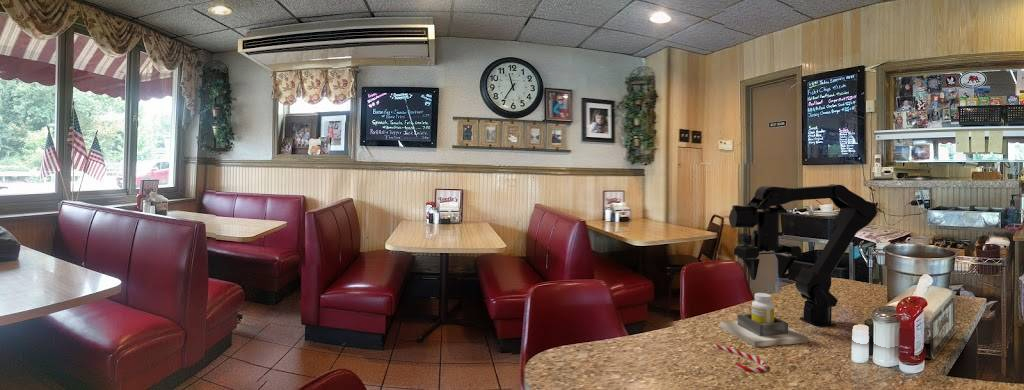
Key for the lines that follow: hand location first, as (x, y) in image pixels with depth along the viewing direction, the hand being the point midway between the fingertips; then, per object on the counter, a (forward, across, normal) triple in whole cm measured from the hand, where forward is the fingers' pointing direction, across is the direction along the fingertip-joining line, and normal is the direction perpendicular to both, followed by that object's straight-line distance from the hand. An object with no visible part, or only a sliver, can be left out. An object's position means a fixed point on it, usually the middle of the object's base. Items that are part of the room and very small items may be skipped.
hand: (766, 278), depth 127 cm
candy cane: (+14, +26, +21) cm, 36 cm away
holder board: (+13, +9, +9) cm, 18 cm away
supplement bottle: (+12, +9, +9) cm, 17 cm away
